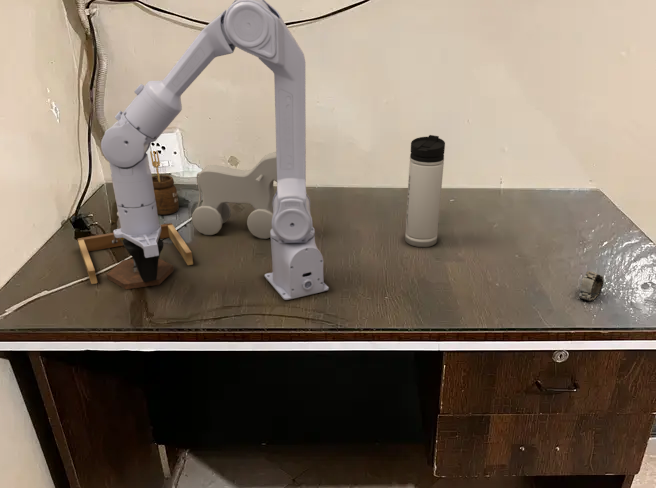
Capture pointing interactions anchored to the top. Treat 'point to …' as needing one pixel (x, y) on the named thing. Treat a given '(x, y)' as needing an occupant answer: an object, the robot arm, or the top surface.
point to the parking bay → (106, 242)
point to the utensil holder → (164, 190)
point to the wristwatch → (591, 286)
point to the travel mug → (424, 190)
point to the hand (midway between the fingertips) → (149, 279)
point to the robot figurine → (135, 270)
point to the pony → (236, 196)
